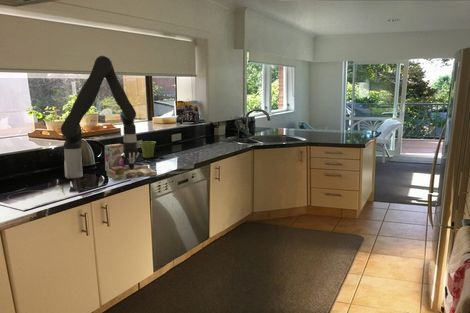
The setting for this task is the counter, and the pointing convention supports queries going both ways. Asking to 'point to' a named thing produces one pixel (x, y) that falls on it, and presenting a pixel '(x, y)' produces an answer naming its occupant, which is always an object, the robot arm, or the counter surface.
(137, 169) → the box
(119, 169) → the walnut block
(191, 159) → the counter surface
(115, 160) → the candy bar box
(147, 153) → the plant pot
